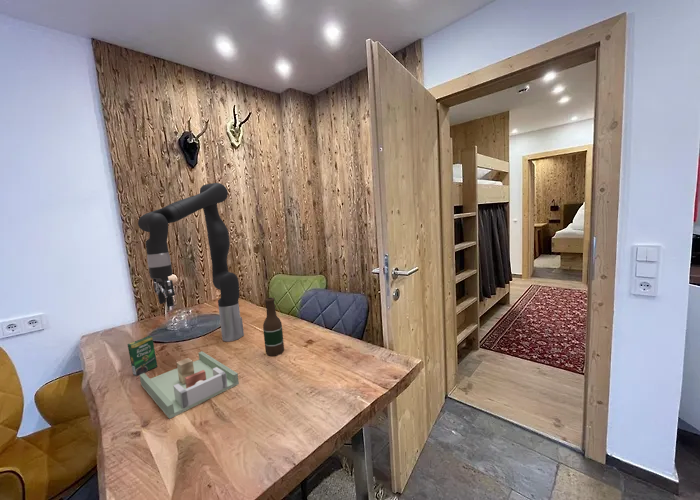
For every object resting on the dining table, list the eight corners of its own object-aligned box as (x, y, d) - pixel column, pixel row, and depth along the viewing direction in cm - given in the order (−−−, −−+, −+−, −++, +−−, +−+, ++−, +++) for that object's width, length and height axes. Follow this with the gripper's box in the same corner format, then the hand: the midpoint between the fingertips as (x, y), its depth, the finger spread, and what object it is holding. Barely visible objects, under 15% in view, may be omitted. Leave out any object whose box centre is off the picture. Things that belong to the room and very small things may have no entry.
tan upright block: (193, 374, 109) (191, 356, 108) (206, 384, 101) (204, 365, 100) (176, 381, 104) (173, 363, 104) (188, 393, 97) (185, 373, 96)
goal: (218, 380, 104) (216, 367, 104) (227, 386, 100) (225, 373, 99) (175, 400, 94) (173, 385, 93) (183, 408, 89) (181, 393, 89)
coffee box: (135, 377, 112) (130, 344, 111) (132, 375, 114) (126, 343, 112) (157, 367, 119) (153, 336, 118) (154, 365, 121) (149, 335, 119)
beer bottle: (261, 354, 124) (256, 300, 121) (274, 347, 131) (269, 295, 128) (275, 357, 121) (270, 301, 118) (288, 349, 127) (283, 296, 125)
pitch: (203, 360, 123) (202, 351, 122) (238, 384, 103) (237, 373, 102) (141, 385, 106) (139, 374, 106) (169, 419, 86) (167, 406, 86)
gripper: (177, 264, 112) (183, 304, 114) (164, 262, 121) (170, 299, 123) (155, 267, 106) (162, 310, 108) (142, 265, 115) (149, 304, 118)
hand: (166, 304), depth 116 cm, fingers open, 8 cm apart
